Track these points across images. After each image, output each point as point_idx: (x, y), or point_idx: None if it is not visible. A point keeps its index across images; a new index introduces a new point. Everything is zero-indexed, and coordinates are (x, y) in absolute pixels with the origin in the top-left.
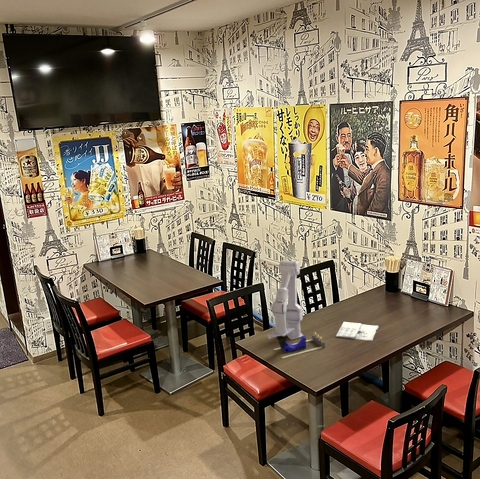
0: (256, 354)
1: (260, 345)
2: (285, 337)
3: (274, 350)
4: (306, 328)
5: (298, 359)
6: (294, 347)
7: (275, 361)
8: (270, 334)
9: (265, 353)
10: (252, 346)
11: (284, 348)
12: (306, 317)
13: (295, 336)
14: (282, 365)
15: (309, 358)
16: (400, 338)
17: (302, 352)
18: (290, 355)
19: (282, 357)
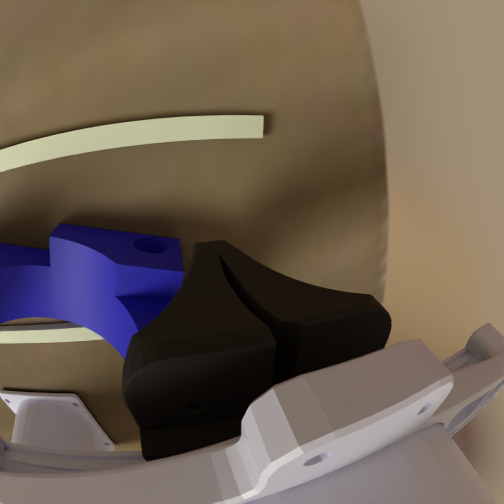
0: (383, 288)
1: None
2: (217, 346)
3: None
4: (3, 432)
5: (105, 28)
6: (57, 260)
7: (341, 110)
8: (490, 398)
9: (334, 283)
10: None
11: (179, 262)
12: None
13: (45, 406)
14: (319, 9)
15: (7, 24)
16: None
17: (9, 148)
18: (151, 126)
19: (257, 126)
